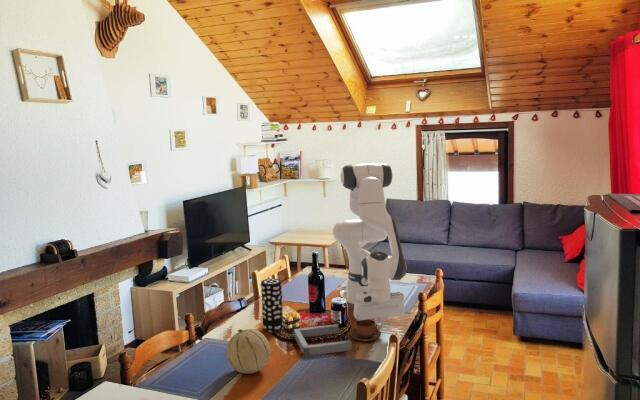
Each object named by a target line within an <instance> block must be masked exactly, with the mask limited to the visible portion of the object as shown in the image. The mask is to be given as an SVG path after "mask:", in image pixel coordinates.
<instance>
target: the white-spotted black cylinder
mask: <svg viewBox="0 0 640 400" xmlns="http://www.w3.org/2000/svg"><path fill="white" fill-rule="evenodd" d="M260 284H261V286H260V287H261V288H260V289H261V307H262V310H261V311H262V314H261V315H262V330H263V331H265V332H268V333H276V332H280V331H282V330H284V309H283V285H282V284H283V283H282V280H281V279H279V278H266V279H263V280H261V282H260ZM282 326H283V327H282Z"/></svg>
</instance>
